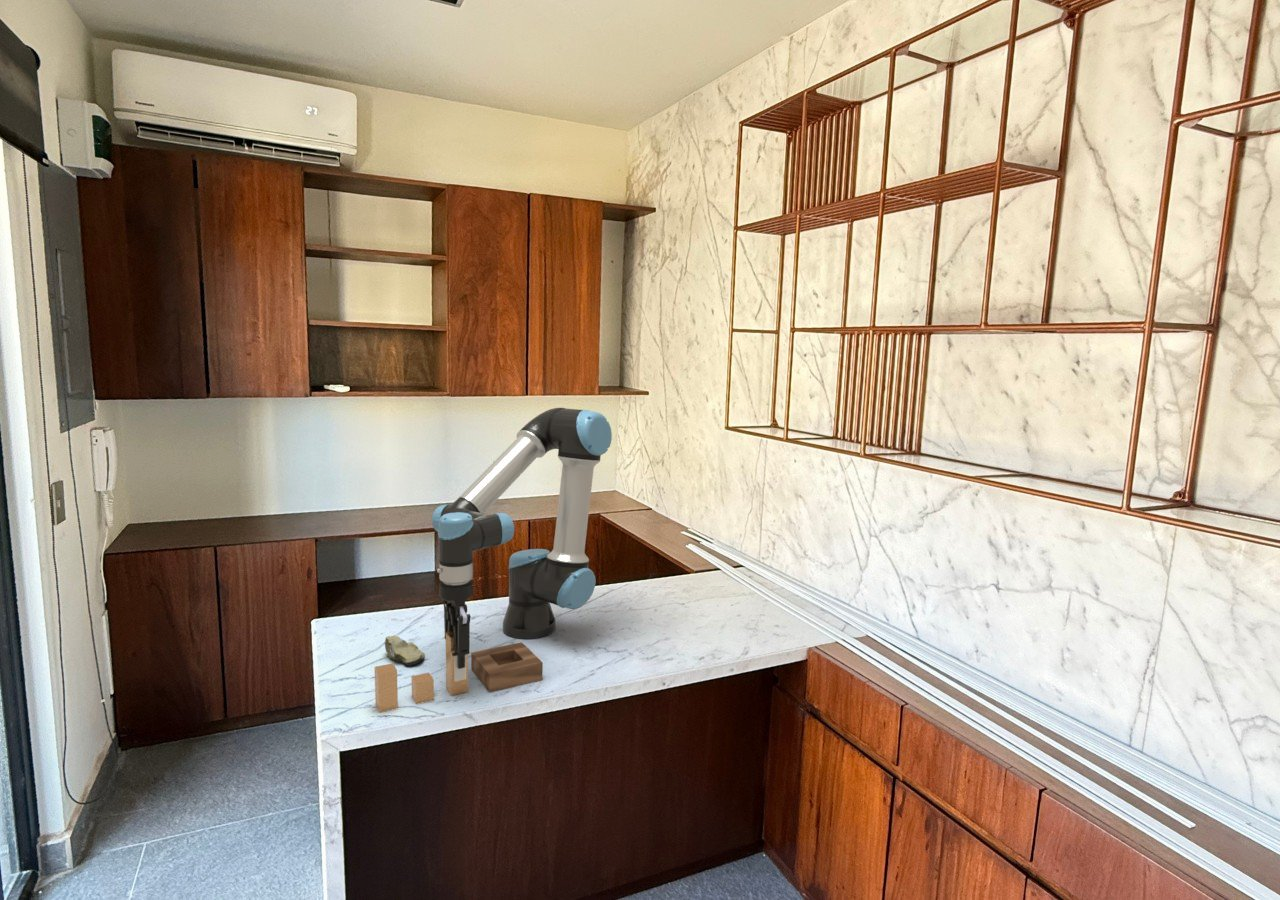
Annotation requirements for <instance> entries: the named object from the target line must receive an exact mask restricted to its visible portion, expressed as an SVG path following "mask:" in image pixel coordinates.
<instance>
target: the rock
mask: <svg viewBox="0 0 1280 900" xmlns="http://www.w3.org/2000/svg"><path fill="white" fill-rule="evenodd" d="M384 647H385V652H386V653H387V658H388V659H389V661H391V660H392V661H394V662H397V663H403V664H404V665H406V666H408V667H410V666H414V665H416V664H419V663H421V662H423V660H424V659H425V657H426V656H425V655H426V654H425V652H424V651H422V650H420V649H419V647H418V646H417V645H416V644H415V643H414V642H407V641H406V640H404V639H403V638H401V637H399V636H397V635H390V636H389V635H388V636H386V637H385V641H384Z"/></svg>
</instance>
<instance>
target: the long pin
mask: <svg viewBox="0 0 1280 900" xmlns="http://www.w3.org/2000/svg"><path fill="white" fill-rule="evenodd" d="M452 653H455V643H454V631H449V632H446V640H445V685H446V687H445V688H446V691H448V693H449V694H450V696H451V697H452V696H455V695H459V694H464V693H468V692H469V659H468V658H469V654H466V679H464V680H460V681H456V682H455V681H454V656H452Z"/></svg>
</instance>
